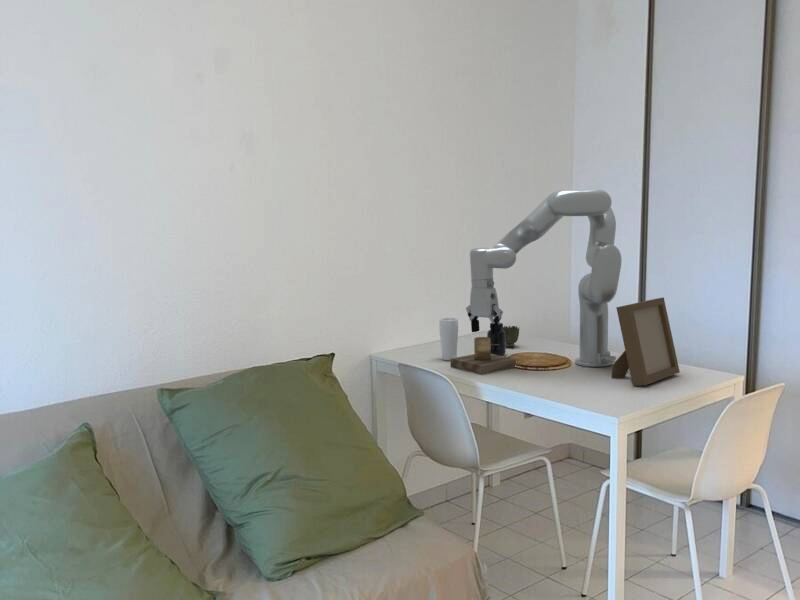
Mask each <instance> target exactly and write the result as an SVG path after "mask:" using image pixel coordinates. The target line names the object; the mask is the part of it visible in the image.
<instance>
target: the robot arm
mask: <svg viewBox="0 0 800 600" xmlns="http://www.w3.org/2000/svg"><path fill="white" fill-rule="evenodd" d="M612 202H613V201H612V198H611V196H610V194H609V193H608V192H607V191H605V190H602V189H588V190H586V189H585V190H555V191H553V192H552V193H550V194H549V195H547V197H546V198H544V199H543V200H542V201H541V202H540V203H539V204H538V205H537V206H536V208H534V209H533V210H532V211H531V212H530V213H529V214H528V215H527V216H526V217H525V218H524V219H522V221H520V222H519V223H518V224H517V225H516V226H515V227H514V228H512V229H511V230H510V231H509V232H508V233H506V234H505V235H504V236H503V237H502V238H501V239H500V240H499V241H498V242H497V243H496V244H495V245H494V246H493V248H488V247H476V248H472V249H471V250H470V252H469V258H470V259H469V260H470V261H469V262H470V277H471V278H470V279H471V280H470V281H471V288H470V297H469V298H470V299H469V300H470V301H469V302H470V303H469V305H468V306H467V307H465V309H466V313H467V316H468V318H469V321H470V326H471V333H476V332H479V331H480V320H479V318H488V320H490V323H491V324H490V323H489V328H490V327H491V328H490V330H491V335H496V334H499V326H498V323H501V320H502V316H503V313H504V312H503V310H502V309H501V308H499V307H500V306H499V299H498V293H497V290H496V288H495V281H494V269H504V270H505V269H509V268H511V267H513V266H514V265H515V263H516V261H517V254H518V253H519V252H520V251H521V250H522V249H524V247H526V246H528V245H529V244H531V243H533V242H535V241H538V240H539V239H540V238H542V237H543V236H545V235H546V234H547V233H548V232H549V231H550V229H552V228H553V227H554V226H555V225H556V224H557V223H558V222H560V220H561V219H562V218H564V217H587V218H588V221H589V224H590V225H589V227H590V228H589V236H588V243H587V248H586V254H585V260H586V263H587V265H588V266H589V267H590V268H591V271H590V273H586V274H585V275H584V276H583V277H581V279H580V280H579V283H578V286H577V287H578V292H577V293H578V300H579V301H578V302H579V357H577V358H575V359H574V363H575V364H576V365H578V366H582V367H590V368H591V367H592V368H600V367H608V366H612V365H613V364H614V363H615V361H616V360H617V357H616V356H615V355H614V356H613V355H611V351H610V350H608V349H609V347H608V345H609V344H608V343H609V305H608V303H610V302H611V301H612V300H613V299H614V298H615V297H616V294H617V291H618V286H619V281H620V274H621V269H622V268H621V267H622V255H621V251H620V250H619V248H618V247H617V246H616V245H615V238H616V228H617V227H616V226H617V221H616V216H615V214H614V210H613V209H612Z"/></svg>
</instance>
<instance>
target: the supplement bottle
mask: <svg viewBox="0 0 800 600" xmlns="http://www.w3.org/2000/svg"><path fill="white" fill-rule="evenodd" d="M490 324H491V322H490V323H489V325H490ZM498 326H499V334H496V335H491V327H490V326H489V330H488V331H487V333H486V335H487V336H486V337H489V338H491V354H495V355H500V356H504V357H505V355H506V348H507V347H506V333H505V331H504V330H502V329H503V327H504V323H502V322H499V323H498Z"/></svg>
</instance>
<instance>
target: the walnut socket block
mask: <svg viewBox="0 0 800 600" xmlns="http://www.w3.org/2000/svg"><path fill="white" fill-rule="evenodd" d="M474 357H475V355H474V353H473V354H467V355H463V356H462V355H461V356H458V357H456V358H451V359H450V362H449V363H450V368H452V369H457V370H462V371H465V372H469V373H474V374H477V375H481V376H482V375H487V374H492V373H496V372H501V371H505V370H510V369H515V364H516V365H517V359H516V358H513V357H508V356H505V355H504V356H500V355H495V354H491V359H490V360H484V361H481V360H475V359H474Z"/></svg>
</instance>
